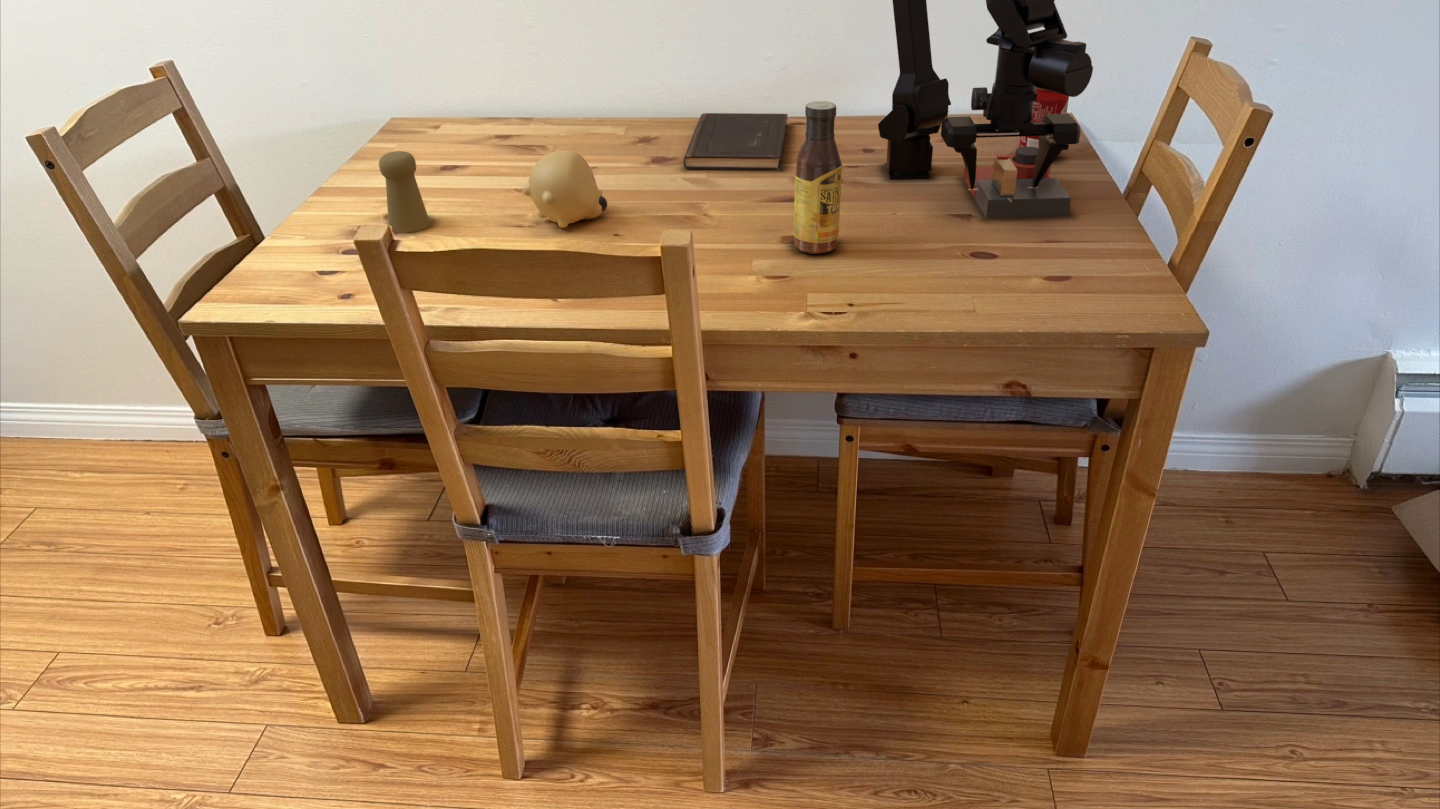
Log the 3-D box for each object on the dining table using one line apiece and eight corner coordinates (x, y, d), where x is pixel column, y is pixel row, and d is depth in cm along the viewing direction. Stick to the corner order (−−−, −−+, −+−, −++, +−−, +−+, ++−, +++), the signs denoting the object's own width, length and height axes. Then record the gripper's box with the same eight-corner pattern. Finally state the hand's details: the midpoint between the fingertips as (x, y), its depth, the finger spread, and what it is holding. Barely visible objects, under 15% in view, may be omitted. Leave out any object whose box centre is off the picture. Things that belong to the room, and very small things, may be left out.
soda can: (1050, 165, 172) (1061, 92, 166) (1011, 158, 176) (1020, 85, 169) (1066, 154, 177) (1077, 81, 170) (1028, 146, 180) (1037, 75, 174)
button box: (973, 197, 162) (976, 172, 160) (962, 178, 169) (965, 153, 167) (1055, 195, 162) (1059, 170, 160) (1040, 175, 169) (1044, 151, 167)
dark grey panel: (973, 222, 154) (975, 202, 152) (959, 196, 162) (961, 176, 161) (1070, 219, 154) (1073, 199, 152) (1051, 194, 162) (1054, 174, 160)
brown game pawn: (393, 236, 155) (378, 163, 149) (384, 222, 160) (369, 151, 154) (434, 227, 158) (421, 155, 152) (424, 214, 162) (411, 144, 156)
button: (1017, 166, 162) (1019, 155, 161) (1011, 157, 166) (1012, 146, 165) (1043, 165, 162) (1045, 154, 161) (1037, 157, 166) (1038, 146, 165)
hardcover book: (787, 126, 193) (787, 113, 192) (779, 170, 174) (780, 156, 173) (700, 125, 195) (700, 113, 194) (683, 169, 176) (683, 155, 174)
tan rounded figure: (591, 250, 158) (630, 191, 158) (540, 209, 148) (582, 147, 149) (553, 230, 164) (591, 173, 164) (502, 189, 154) (542, 129, 155)
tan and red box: (1014, 196, 154) (1017, 168, 152) (1000, 196, 154) (1003, 168, 152) (1004, 181, 159) (1008, 154, 157) (991, 181, 159) (994, 154, 157)
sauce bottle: (825, 259, 144) (829, 115, 134) (785, 250, 147) (786, 108, 137) (846, 242, 149) (852, 102, 138) (807, 234, 152) (810, 95, 141)
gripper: (1066, 63, 155) (1051, 166, 163) (938, 67, 155) (930, 170, 163) (1089, 85, 145) (1072, 193, 154) (953, 89, 145) (943, 196, 154)
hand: (1002, 187), depth 156 cm, fingers open, 9 cm apart
